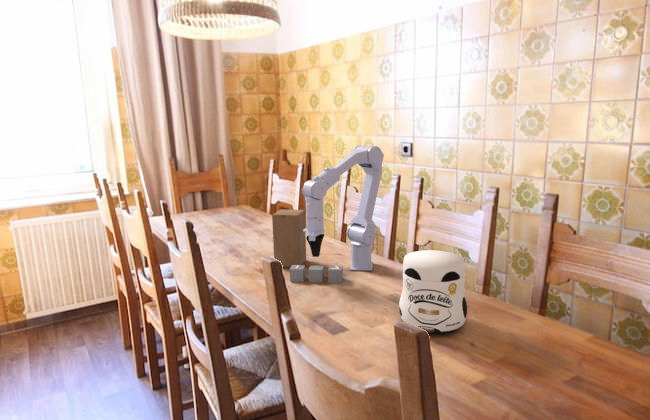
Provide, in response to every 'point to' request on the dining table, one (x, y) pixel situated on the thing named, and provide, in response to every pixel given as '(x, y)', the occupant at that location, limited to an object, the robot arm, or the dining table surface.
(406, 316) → the milk container
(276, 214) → the wooden block
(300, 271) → the block marked 1
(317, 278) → the plain block
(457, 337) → the dining table surface
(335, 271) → the block marked 7
